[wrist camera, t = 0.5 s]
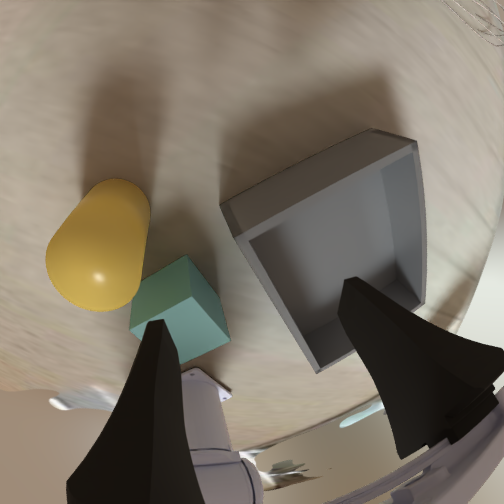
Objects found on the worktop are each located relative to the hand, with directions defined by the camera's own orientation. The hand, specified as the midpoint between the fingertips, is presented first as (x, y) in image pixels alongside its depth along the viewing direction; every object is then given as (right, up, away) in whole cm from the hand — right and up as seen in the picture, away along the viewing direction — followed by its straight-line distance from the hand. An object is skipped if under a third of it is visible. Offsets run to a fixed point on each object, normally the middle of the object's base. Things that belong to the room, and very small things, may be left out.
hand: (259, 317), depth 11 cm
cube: (-6, -1, +11) cm, 13 cm away
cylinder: (-10, +5, +7) cm, 13 cm away
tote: (+7, +3, +13) cm, 15 cm away
